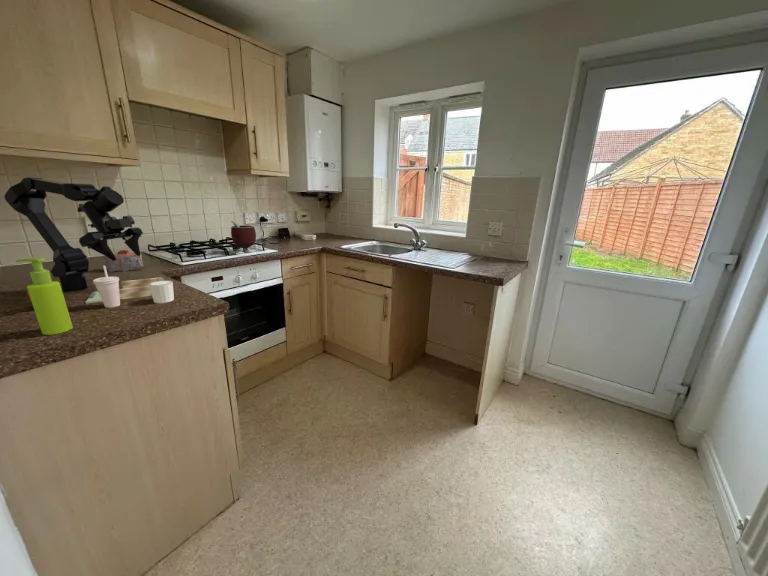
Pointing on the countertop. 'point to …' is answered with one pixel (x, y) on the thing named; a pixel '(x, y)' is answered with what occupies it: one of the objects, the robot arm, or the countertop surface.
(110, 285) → the smoothie
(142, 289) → the wooden serving board
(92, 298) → the pale green flat block
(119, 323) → the countertop surface
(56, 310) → the soap dispenser
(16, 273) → the countertop surface
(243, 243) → the mate gourd
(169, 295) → the white ramekin
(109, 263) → the food item
